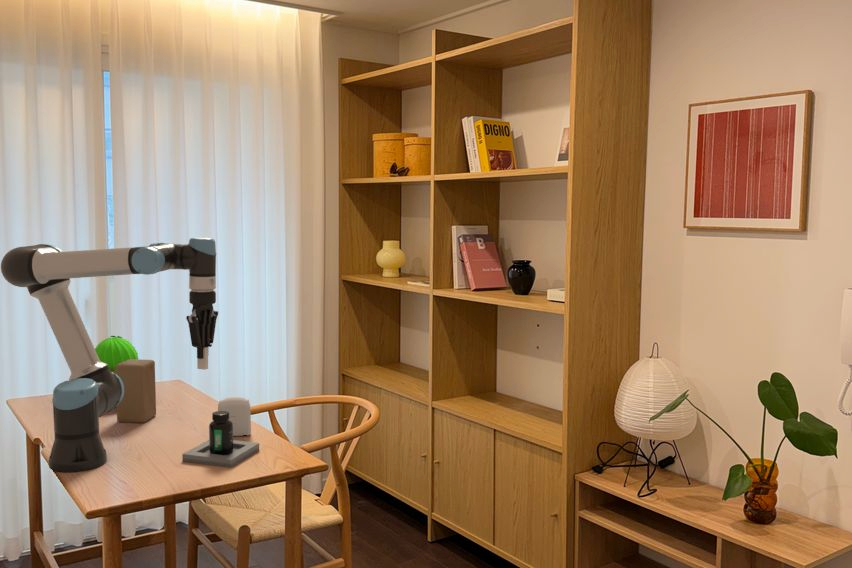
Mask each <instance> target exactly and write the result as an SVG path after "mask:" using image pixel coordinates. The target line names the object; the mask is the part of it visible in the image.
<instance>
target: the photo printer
mask: <svg viewBox="0 0 852 568" xmlns="http://www.w3.org/2000/svg"><path fill="white" fill-rule="evenodd" d="M217 411H228V412H229V420H230V421H231V422H232V423H233V437H240V436H241V437H242V436H243V435H247V436H250V435H251V434H252V426H251V425H252V421H251V418H252V417H251V416H252V415H251V414H252V413H251V404H250V400H249V399H248V398H246V397H239V396H238V397H237V396H231V397H225V398H223V399H220V400H219V401H218V405H217ZM249 434H250V435H249Z"/></svg>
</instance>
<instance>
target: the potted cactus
mask: <svg viewBox="0 0 852 568" xmlns="http://www.w3.org/2000/svg"><path fill="white" fill-rule="evenodd" d="M94 348H95V351H96V353H97V355H98V357H99V360H100V361H101V362H103V363H106V364H108V367H109V369H110V371H111V372H113V373H114V374H116V372H115V367H116V365H117V364H119V363H122V362H124V361H126V360H129V359H139V355H138V350H136V347H135V345H134V346H133V343H131V342H130V339H129V340H128V339H125V338H123V337H122V336H119V335H117V336H115V335H111V336H109V337H106V338H105V339H102V341H99V342H98V344H97V345H96V347H94ZM115 408H117V406H116V407H115Z"/></svg>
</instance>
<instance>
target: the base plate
mask: <svg viewBox="0 0 852 568" xmlns="http://www.w3.org/2000/svg"><path fill="white" fill-rule="evenodd" d="M259 451H260V443H259V442H253V441H243V440H236V439H233V452H232V453H230V454H228V455H217V454H211V453H210V448H209V439H208V440H206V441H204V442H203V443H201V444H199V445H197V446H194V447H193V448H191V449H189V450H187V451H185V452H183V453H182V457H181V458H182V462H186V463H193V464H202V465H210V466H218V467H225V468H233V467H234V466H236V465H238V464H239V463H241V462H242V461H244V460H245V459H247V458H249V457H251V456H252V455H254V454H255V453H257V452H259Z"/></svg>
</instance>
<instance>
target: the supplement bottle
mask: <svg viewBox="0 0 852 568" xmlns="http://www.w3.org/2000/svg"><path fill="white" fill-rule="evenodd" d="M211 415H212V417H211V419H212V421H211V422H210V423H209V425H208V435H209V436H208V437H209V439H208V440H209V448H210V453H211V454H217V455H228V454H230V453H232V452H233V440H234V436H233V423H232V422H231V421H230V420H229V412H228V411H218V410H216V411H213V412H212V414H211Z"/></svg>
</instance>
